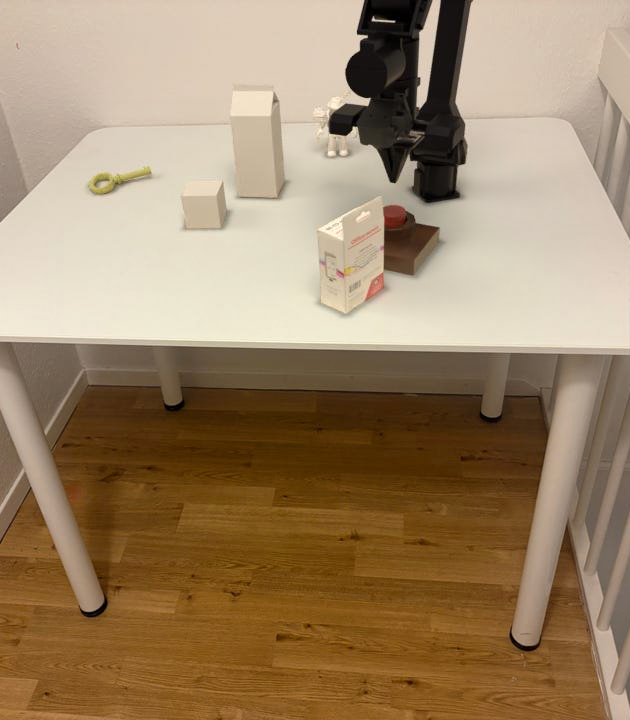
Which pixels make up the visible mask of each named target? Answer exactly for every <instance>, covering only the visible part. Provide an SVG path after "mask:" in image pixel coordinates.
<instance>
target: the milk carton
mask: <svg viewBox="0 0 630 720" xmlns="http://www.w3.org/2000/svg"><path fill="white" fill-rule="evenodd" d="M274 86H275V85H274V84H271V83H268V84H267V83H266V84H265V83H264V84H263V83H260V84H259V83H258V84H255V83H251V84H250V83H248V84H245V83H244V84H243V83H241V84H238V83H237V84H235V83H234V84H232V97H231V104H230V110H229V120H230V128H231V130H230V131H231V137H232V145H233V154H234V164H235V172H236V173H235V174H236V180H237V181H236V182H237V189H238V196H239V197H240V198H266V199H267V198H269V199H278V196H279V195H280V192H281V191H282V188H283V186H284V184H285V181H286V175H285V161H284V145H283V133H282V119H281V118H282V117H281V106H280V105H281V104H280V100H279V98H278V96H277V94H276V92H275V88H274Z"/></svg>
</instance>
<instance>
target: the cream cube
mask: <svg viewBox="0 0 630 720" xmlns="http://www.w3.org/2000/svg"><path fill="white" fill-rule="evenodd" d="M180 199H181V206H182V211H183V217H184V223H185V229H221V228H222V227H223V224H224V221H225V218H226V216H227V213H228V208H227V200H226V193H225V185H224V180H222V179H220V180H218V179H217V180H216V179H213V180H210V179H209V180H207V179H206V180H188V181H187V183H186V185H185V187H184V189H183V191H182V192H181V195H180Z"/></svg>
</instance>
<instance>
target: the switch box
mask: <svg viewBox="0 0 630 720" xmlns="http://www.w3.org/2000/svg"><path fill="white" fill-rule="evenodd" d="M440 229H441V227H440V226H434V225H430V224H424V223H419V222H417V220H416V217H415V215H414V214H413V213H412V212H410V211H408V210H406V221H405V223H404V224H402V225H399V226H386V225H384V271H389V272H394V273H397V274H402V275H403V274H404V275H408V276H412V277H413V276H414V275H415V274H416V273H417V272H418V271H419V269H421V267H422V265H423V264H424V262H425V261H427V258H428V257H429V256H430V255H431V253H432V252H433V251H434V249H435V248H436V247H437V246H438V244H439V242H440Z"/></svg>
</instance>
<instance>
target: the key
mask: <svg viewBox="0 0 630 720" xmlns="http://www.w3.org/2000/svg"><path fill="white" fill-rule="evenodd" d="M148 175H152V169H151V167H150V165H147V166H143V167H142V169H139V170H133V171H131V172H126V173H123V174H119V173H116V174H115V176H113V175H112V174H111V173H110V172H100V173H97V174H96V175H94V176H92V178H91V179H90V180H89V183H88V188H89V190H90V191H91V192H92V193H94V194H97V195H104V194H107V193H110V192H111V191H113V189H114V188H115V187H116V186H115V185H116V184H118V185H121V184H122V182H125V181H129V180H133V179H136V178H140V177H145V176H148ZM104 180H108V181H109V182H108V183H107V184H106V185H103V186H100V187H96V186H95V185H96V184H97V183H98V182H100V181H104Z"/></svg>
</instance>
